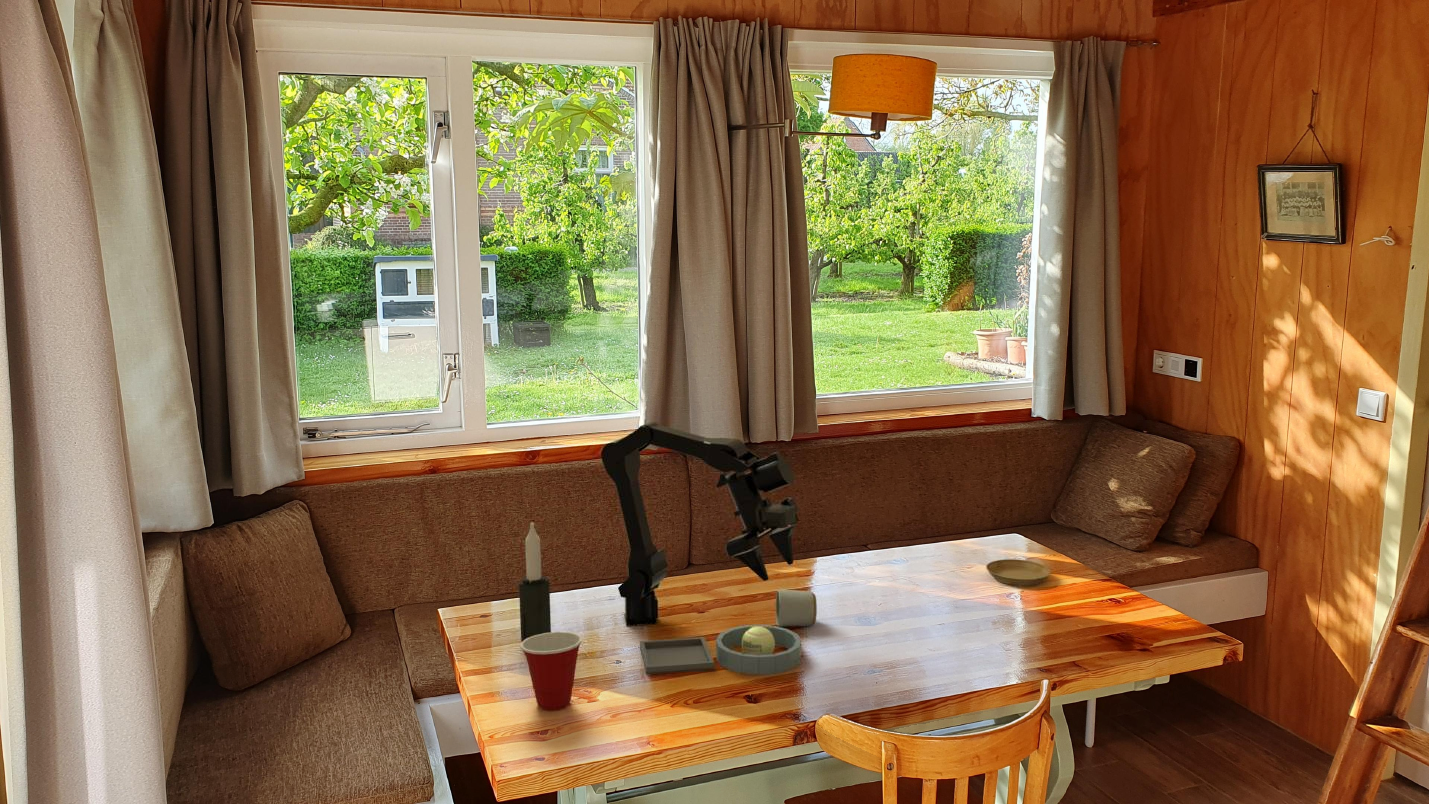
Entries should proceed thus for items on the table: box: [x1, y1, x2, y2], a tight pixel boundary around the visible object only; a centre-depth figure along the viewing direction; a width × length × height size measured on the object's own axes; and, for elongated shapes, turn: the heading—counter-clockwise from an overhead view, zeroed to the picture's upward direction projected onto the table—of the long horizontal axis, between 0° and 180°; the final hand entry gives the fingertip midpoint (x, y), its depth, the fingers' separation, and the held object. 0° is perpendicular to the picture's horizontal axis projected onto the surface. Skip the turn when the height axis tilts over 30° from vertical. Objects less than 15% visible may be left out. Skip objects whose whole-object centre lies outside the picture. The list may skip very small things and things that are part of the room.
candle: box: [518, 521, 552, 643], centre depth 221 cm, size 5×5×25 cm
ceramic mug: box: [775, 589, 818, 628], centre depth 233 cm, size 11×8×8 cm
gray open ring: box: [715, 624, 802, 676], centre depth 214 cm, size 16×16×4 cm
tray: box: [639, 636, 715, 676], centre depth 214 cm, size 13×13×2 cm
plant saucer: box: [985, 558, 1052, 587], centre depth 260 cm, size 15×15×3 cm
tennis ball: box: [741, 626, 776, 655], centre depth 214 cm, size 6×7×7 cm
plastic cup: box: [520, 631, 583, 712], centre depth 194 cm, size 11×11×12 cm
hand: (778, 572), depth 219 cm, fingers open, 9 cm apart
